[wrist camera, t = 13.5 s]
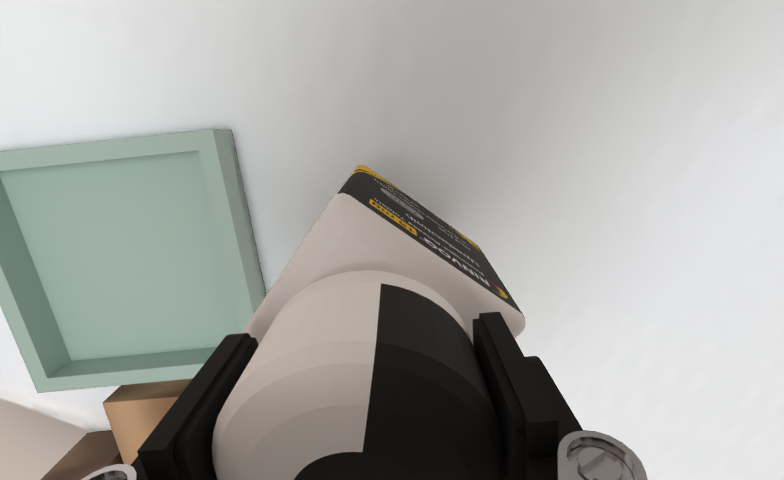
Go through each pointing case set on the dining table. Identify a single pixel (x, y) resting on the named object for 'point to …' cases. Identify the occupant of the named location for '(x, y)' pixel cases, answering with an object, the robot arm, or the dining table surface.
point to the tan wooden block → (139, 412)
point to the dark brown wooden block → (87, 457)
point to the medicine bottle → (369, 352)
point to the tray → (125, 257)
